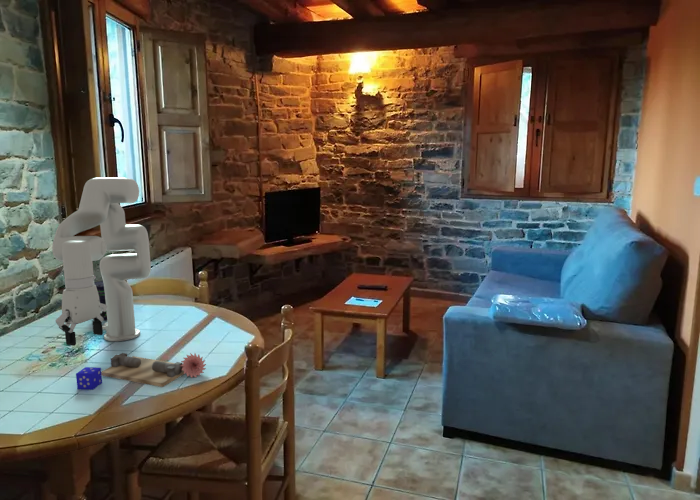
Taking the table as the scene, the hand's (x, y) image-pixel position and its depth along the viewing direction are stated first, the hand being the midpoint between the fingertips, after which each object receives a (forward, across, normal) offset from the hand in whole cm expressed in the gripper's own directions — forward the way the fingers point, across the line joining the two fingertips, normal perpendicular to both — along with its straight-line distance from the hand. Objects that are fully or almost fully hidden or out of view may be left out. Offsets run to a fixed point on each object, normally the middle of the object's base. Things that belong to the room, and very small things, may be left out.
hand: (85, 339), depth 157 cm
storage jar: (+14, -54, -48) cm, 74 cm away
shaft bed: (+15, -14, +9) cm, 22 cm away
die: (+15, 0, 0) cm, 15 cm away
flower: (+15, -18, +24) cm, 34 cm away
